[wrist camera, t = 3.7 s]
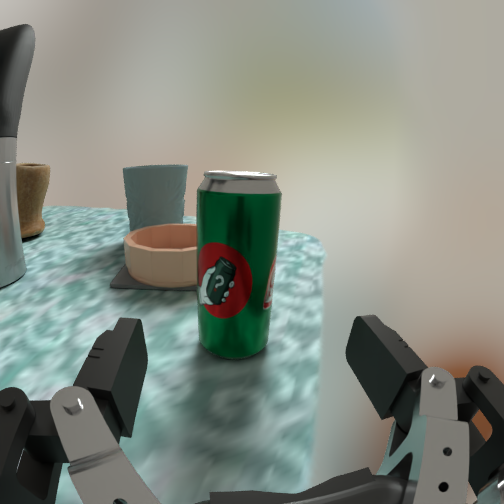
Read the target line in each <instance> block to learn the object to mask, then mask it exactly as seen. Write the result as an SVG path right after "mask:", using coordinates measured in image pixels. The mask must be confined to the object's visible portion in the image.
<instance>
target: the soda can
mask: <svg viewBox="0 0 504 504" xmlns="http://www.w3.org/2000/svg"><path fill="white" fill-rule="evenodd" d="M204 176H205V178H204V180H203V182H202V183H201V185H200V186H199V188H198V189H197V222H196V259H197V305H198V329H199V340H200V342H201V344H202V345H203V346H204V347H205V348H206V349H207V350H208V351H209V352H211V353H212V354H214V355H216V356H218V357H221V358H225V359H232V360H237V359H244V358H248V357H251V356H253V355H255V354H256V353H258V352H259V351H261V350H262V349H263V348H264V347H265V346H266V344H267V342H268V334H269V325H270V316H271V307H272V297H273V287H274V277H275V267H276V256H277V245H278V234H279V221H280V210H281V196H282V193H281V191H280V189H279V188H278V186H277V184H276V181H275V179H276V178H277V176H276V175H274V174H267V173H257V172H240V171H206V172H204Z"/></svg>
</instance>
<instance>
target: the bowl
mask: <svg viewBox="0 0 504 504" xmlns="http://www.w3.org/2000/svg"><path fill="white" fill-rule="evenodd" d="M124 251H125V262H126V266H127V268H128V273H129V275H130V276H131V277H132V278H133V279H134V280H136V281H138V282H140V283H143V284H146V285H150V286H156V287H167V288H177V287H188V286H194V285H197V259H196V224H162V225H153V226H147V227H144V228H140V229H137V230H134V231H131V232H130V233H129V234H128V235H127V236H126V237H124Z"/></svg>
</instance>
